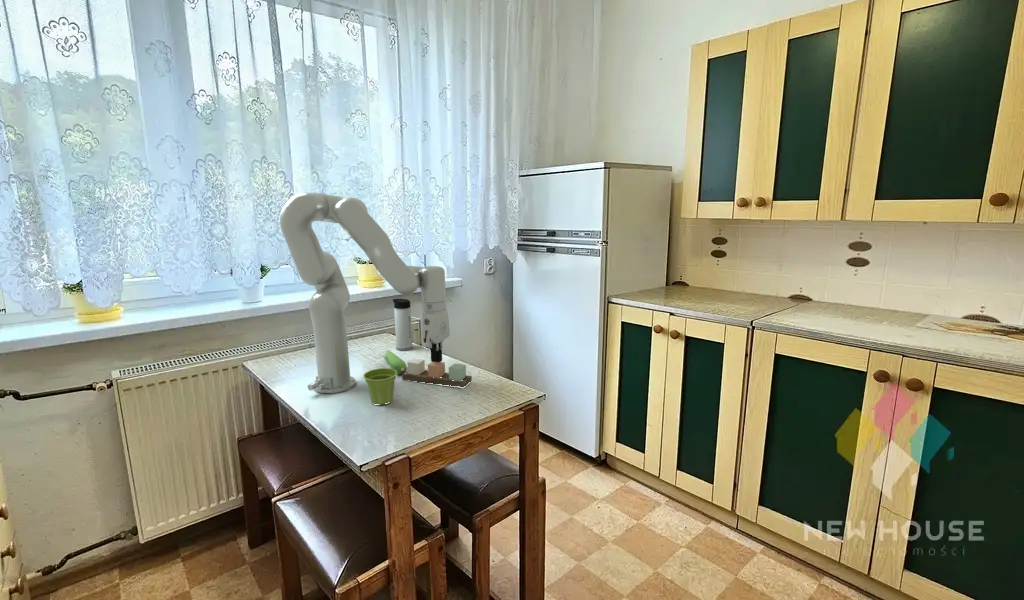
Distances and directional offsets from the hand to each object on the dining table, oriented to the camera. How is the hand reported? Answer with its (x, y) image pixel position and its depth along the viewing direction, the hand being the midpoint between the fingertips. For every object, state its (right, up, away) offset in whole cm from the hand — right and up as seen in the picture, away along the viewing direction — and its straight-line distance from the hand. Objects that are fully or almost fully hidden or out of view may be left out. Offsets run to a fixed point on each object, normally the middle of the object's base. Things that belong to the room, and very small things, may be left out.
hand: (436, 361), depth 157 cm
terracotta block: (0, -5, +1) cm, 5 cm away
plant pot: (-14, -10, -14) cm, 22 cm away
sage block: (+7, -5, -2) cm, 9 cm away
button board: (0, -7, +1) cm, 7 cm away
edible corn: (-17, -4, +14) cm, 22 cm away
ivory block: (-7, -4, +4) cm, 9 cm away
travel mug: (-18, 0, +35) cm, 39 cm away
